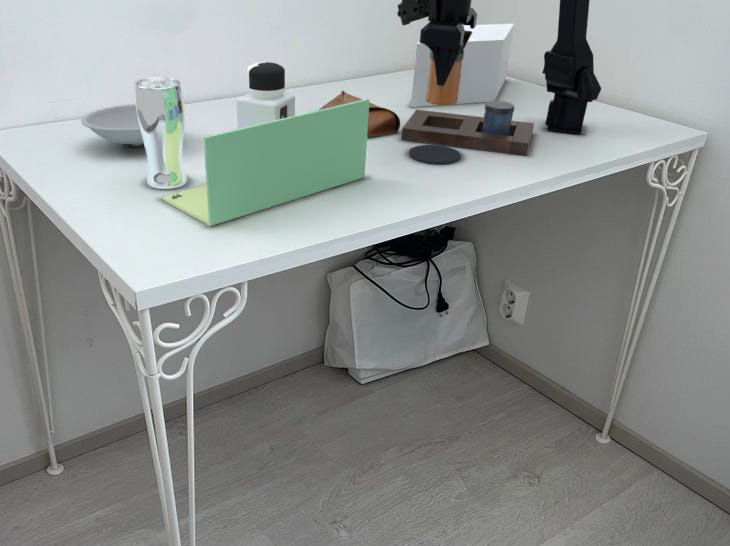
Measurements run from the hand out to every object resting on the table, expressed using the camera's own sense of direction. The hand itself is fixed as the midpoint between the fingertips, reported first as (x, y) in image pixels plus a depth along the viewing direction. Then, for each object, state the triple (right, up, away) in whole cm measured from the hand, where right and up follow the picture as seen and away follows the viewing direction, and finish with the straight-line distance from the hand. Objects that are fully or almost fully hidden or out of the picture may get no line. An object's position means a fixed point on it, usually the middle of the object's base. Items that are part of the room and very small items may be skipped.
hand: (443, 81), depth 124 cm
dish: (-53, -9, +6) cm, 54 cm away
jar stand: (+7, -5, +15) cm, 17 cm away
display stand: (-29, -20, -9) cm, 36 cm away
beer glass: (-44, -19, -8) cm, 49 cm away
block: (+11, +13, +41) cm, 44 cm away
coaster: (-1, -11, +6) cm, 12 cm away
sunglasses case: (-14, -1, +20) cm, 25 cm away
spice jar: (+12, -6, +14) cm, 19 cm away
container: (-30, -7, +10) cm, 33 cm away
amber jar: (0, -3, +2) cm, 3 cm away
